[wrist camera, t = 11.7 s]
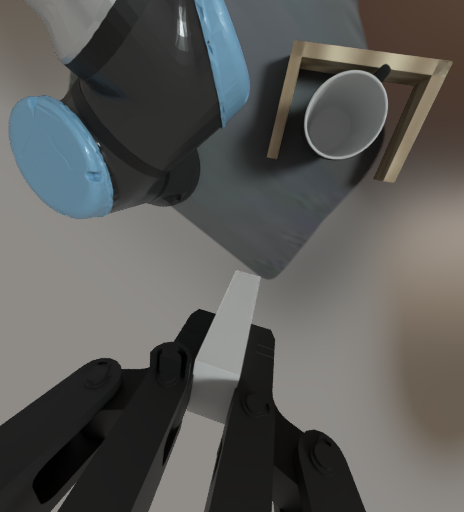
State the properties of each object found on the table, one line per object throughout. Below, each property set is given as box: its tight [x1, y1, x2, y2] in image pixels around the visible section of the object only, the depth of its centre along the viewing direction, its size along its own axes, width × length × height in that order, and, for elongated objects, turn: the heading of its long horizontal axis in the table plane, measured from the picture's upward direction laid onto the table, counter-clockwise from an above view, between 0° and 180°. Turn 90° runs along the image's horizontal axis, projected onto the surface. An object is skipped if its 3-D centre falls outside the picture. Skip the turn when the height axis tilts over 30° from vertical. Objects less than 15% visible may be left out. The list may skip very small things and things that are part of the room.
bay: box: [267, 40, 452, 183], centre depth 32 cm, size 19×14×4 cm
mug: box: [302, 64, 391, 160], centre depth 29 cm, size 12×9×10 cm
